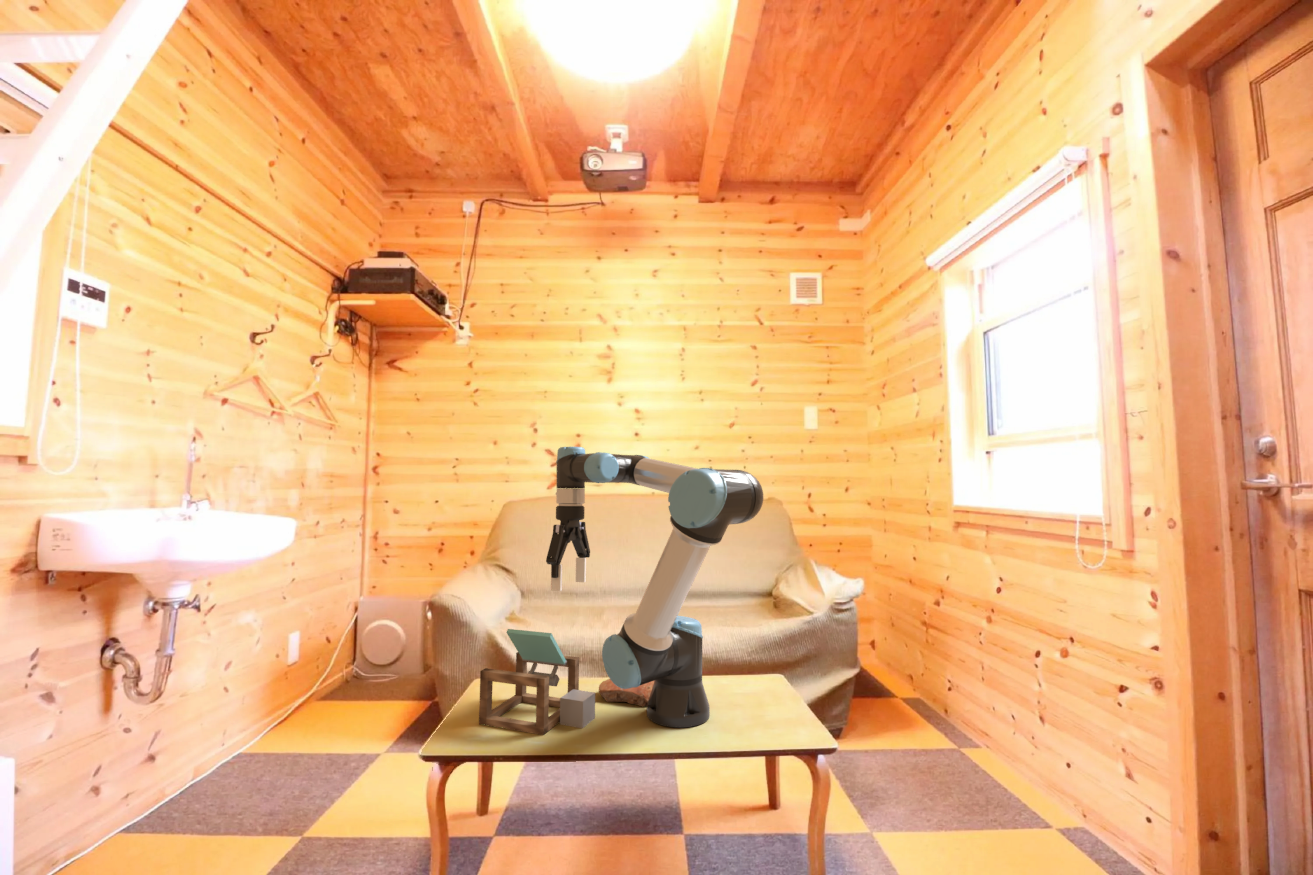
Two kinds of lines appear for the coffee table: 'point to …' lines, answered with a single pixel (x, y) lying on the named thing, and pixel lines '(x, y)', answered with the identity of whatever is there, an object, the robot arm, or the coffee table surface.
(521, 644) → the trapdoor
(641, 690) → the ceramic shard
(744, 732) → the coffee table surface
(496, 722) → the frame
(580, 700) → the gray cube
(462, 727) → the coffee table surface
